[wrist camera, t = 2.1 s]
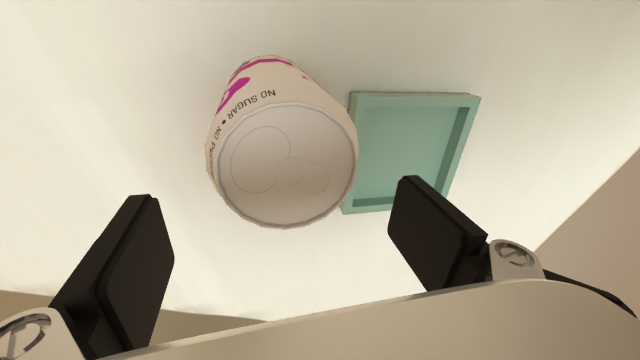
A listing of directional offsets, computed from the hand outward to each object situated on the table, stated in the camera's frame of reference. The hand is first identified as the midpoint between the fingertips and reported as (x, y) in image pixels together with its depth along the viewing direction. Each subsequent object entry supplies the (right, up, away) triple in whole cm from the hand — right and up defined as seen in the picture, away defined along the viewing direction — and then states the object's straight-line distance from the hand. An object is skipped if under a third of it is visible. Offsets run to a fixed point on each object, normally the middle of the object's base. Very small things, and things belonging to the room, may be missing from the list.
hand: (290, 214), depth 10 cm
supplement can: (-4, +9, +15) cm, 18 cm away
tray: (+11, +5, +21) cm, 24 cm away
